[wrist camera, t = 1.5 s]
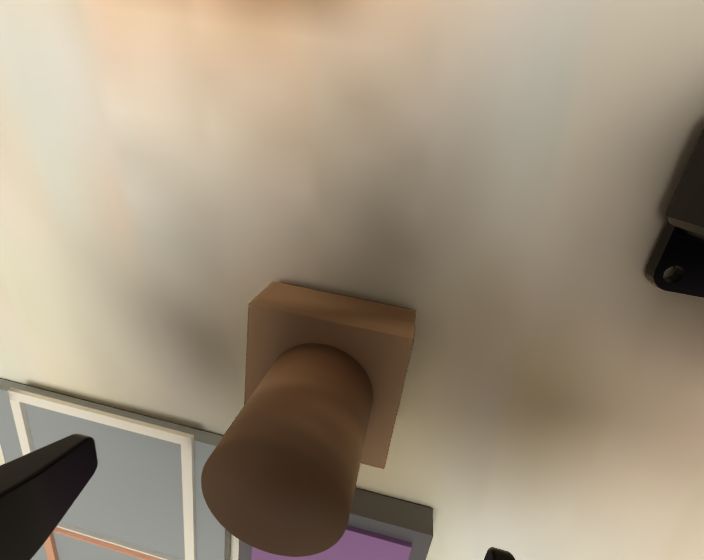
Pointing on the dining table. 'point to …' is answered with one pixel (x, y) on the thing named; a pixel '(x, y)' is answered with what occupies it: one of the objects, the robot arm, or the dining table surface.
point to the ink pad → (372, 532)
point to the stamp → (308, 417)
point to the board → (120, 480)
